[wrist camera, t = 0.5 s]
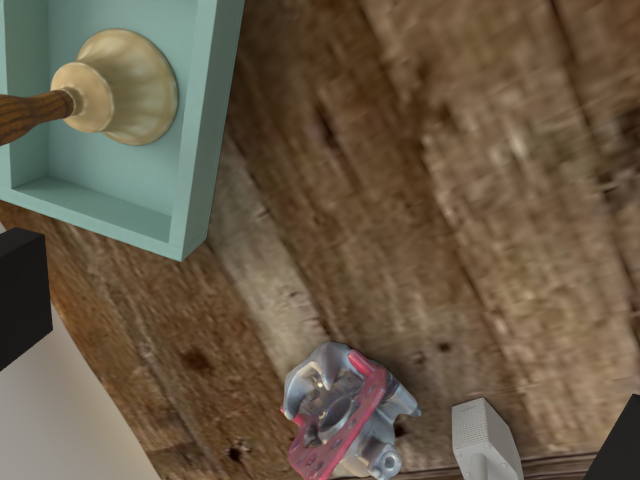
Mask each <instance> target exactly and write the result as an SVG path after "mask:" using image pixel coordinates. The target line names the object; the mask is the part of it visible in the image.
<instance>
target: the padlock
mask: <svg viewBox="0 0 640 480" xmlns="http://www.w3.org/2000/svg"><path fill="white" fill-rule="evenodd" d="M452 439H453V440H452V441H453V442H452V443H453V444H452V445H453V452H454V455H455V457H456V460H457V462H458V465H459V467H460V469H461V472H462V474H463V477H464V479H465V480H524V477H523V471H522V467H521V461H520V456H519V453H518V451H517V448H516V445H515V442H514V440H513V437H512V434H511V431H510V428H509V426H508V425H507V424H506V423H505V422H504V421H503V419H502V418H501V417H500V416H499V415H498V414H497V412H496V411H495V410H494V409H493V408H492V407H491V406H490V404H489V403H488V402H487V401H486V400H485V399H484V398H479V399H476V400H472V401H469V402H466V403H463V404H459V405H456V406H453V407H452Z"/></svg>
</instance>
